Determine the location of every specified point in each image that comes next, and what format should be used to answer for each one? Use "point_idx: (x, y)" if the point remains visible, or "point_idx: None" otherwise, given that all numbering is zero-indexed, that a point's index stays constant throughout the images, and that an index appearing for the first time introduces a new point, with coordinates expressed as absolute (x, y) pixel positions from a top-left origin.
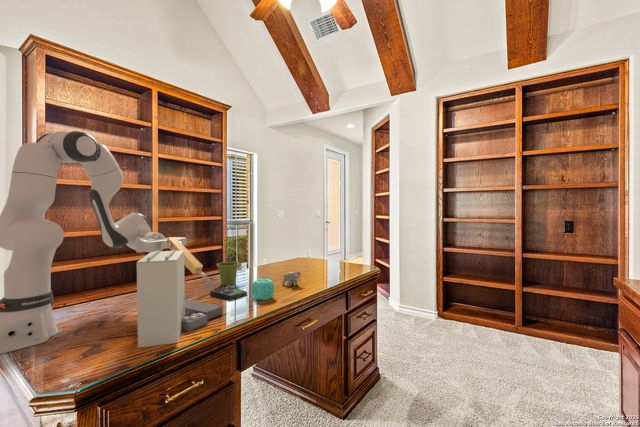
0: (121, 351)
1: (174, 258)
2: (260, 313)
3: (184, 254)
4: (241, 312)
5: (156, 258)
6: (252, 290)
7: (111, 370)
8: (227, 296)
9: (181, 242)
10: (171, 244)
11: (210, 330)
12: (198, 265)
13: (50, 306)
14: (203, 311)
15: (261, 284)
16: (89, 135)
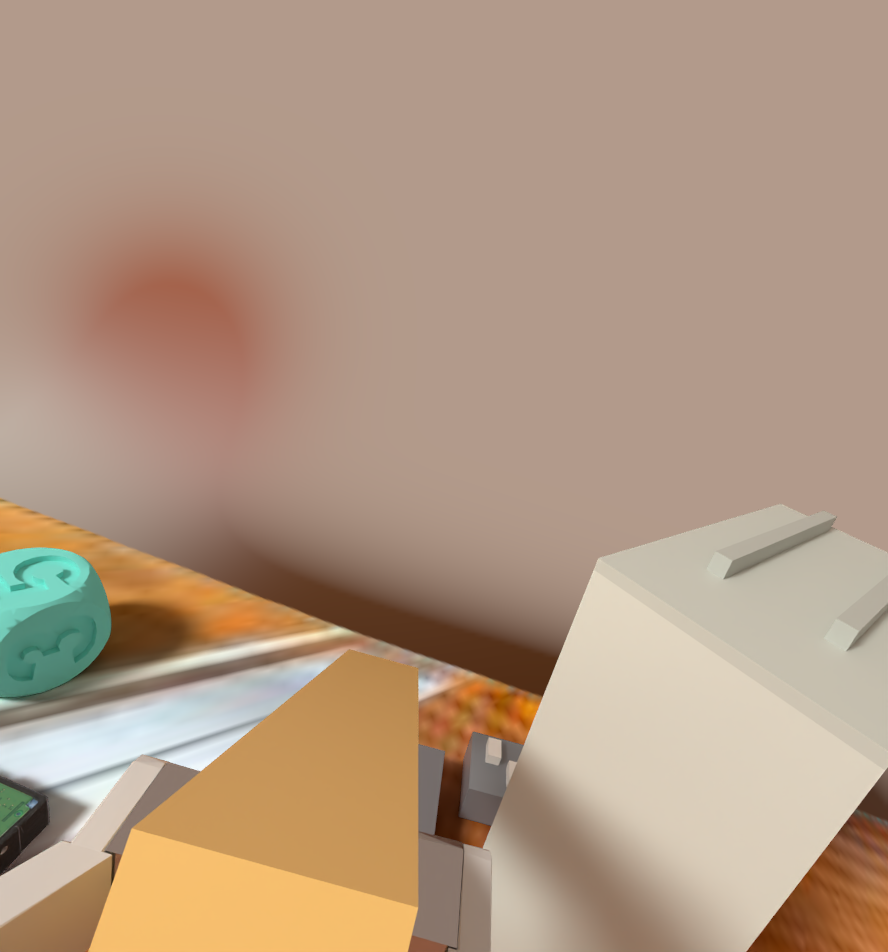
0: (834, 928)
1: (778, 516)
2: (304, 622)
3: (411, 703)
4: (301, 683)
5: (868, 569)
6: (1, 675)
7: (865, 837)
8: (20, 834)
9: (162, 760)
10: (430, 844)
11: (513, 715)
12: (382, 661)
13: None
14: (438, 772)
15: (97, 581)
16: None
